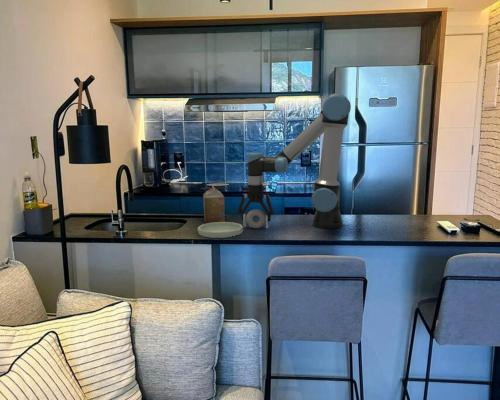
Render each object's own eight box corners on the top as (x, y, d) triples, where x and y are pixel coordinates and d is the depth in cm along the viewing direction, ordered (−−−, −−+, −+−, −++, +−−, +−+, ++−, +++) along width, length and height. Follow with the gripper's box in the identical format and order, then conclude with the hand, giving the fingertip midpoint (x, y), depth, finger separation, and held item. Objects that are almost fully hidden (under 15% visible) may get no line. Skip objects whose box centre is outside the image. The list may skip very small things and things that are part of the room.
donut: (265, 227, 216) (265, 208, 214) (266, 229, 212) (265, 209, 211) (246, 227, 216) (245, 208, 214) (246, 229, 212) (245, 209, 211)
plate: (248, 227, 215) (247, 223, 215) (234, 239, 195) (234, 233, 194) (208, 225, 221) (208, 221, 221) (191, 236, 201) (190, 231, 201)
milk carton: (224, 222, 228) (223, 187, 225) (205, 223, 226) (203, 188, 223) (223, 218, 238) (222, 184, 235) (204, 219, 237) (202, 185, 233)
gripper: (280, 183, 210) (280, 226, 214) (235, 182, 217) (236, 224, 221) (276, 185, 203) (277, 230, 207) (230, 184, 210) (231, 227, 214)
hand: (256, 227), depth 214 cm, fingers open, 11 cm apart
